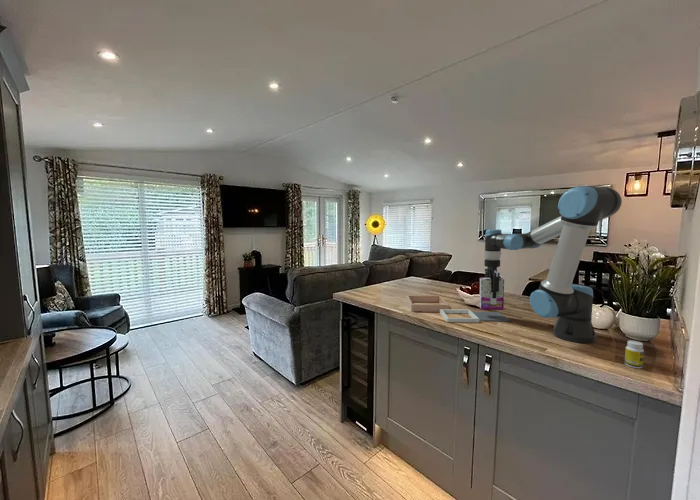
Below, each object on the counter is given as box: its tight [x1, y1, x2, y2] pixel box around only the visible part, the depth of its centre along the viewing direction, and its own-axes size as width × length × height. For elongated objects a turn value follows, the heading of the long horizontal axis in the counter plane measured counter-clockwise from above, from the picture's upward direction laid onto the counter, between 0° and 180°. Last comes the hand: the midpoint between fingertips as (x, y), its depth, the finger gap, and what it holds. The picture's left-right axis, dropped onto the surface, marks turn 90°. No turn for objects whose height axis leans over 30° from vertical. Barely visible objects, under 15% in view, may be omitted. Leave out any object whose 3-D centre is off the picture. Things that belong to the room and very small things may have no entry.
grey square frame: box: [439, 308, 480, 323], centre depth 163 cm, size 16×16×2 cm
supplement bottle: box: [624, 339, 645, 370], centre depth 107 cm, size 5×5×8 cm
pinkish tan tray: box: [406, 294, 450, 313], centre depth 184 cm, size 22×21×4 cm
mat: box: [472, 311, 511, 322], centre depth 163 cm, size 14×14×1 cm
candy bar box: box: [478, 277, 505, 311], centre depth 162 cm, size 11×5×16 cm, turn 79°
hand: (490, 302), depth 162 cm, fingers closed on candy bar box, 5 cm apart
